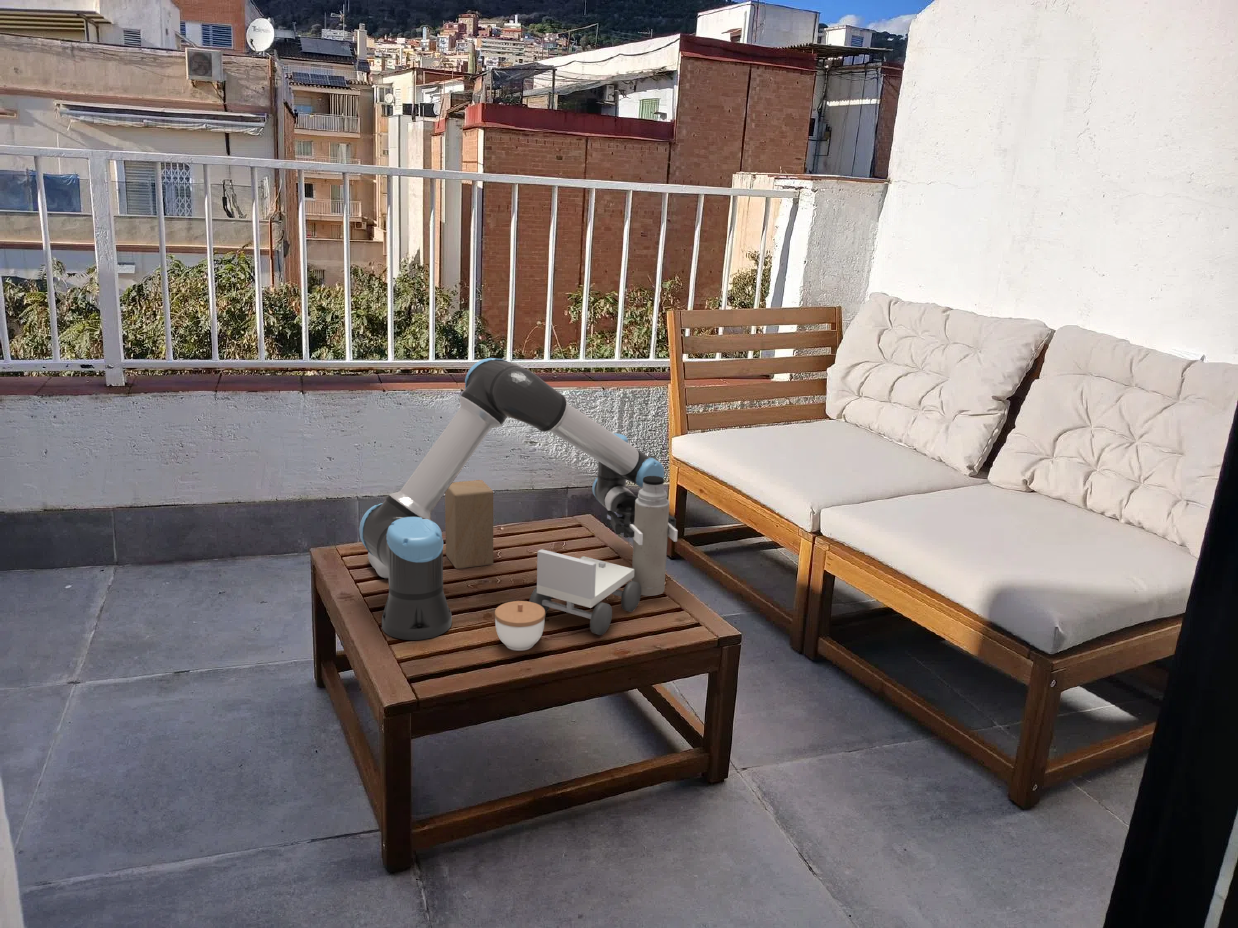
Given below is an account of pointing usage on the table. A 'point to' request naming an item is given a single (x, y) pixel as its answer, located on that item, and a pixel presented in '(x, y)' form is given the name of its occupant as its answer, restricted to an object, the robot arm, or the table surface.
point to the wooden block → (469, 524)
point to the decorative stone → (378, 566)
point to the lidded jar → (519, 624)
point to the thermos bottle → (651, 536)
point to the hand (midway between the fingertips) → (658, 537)
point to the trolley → (583, 586)
